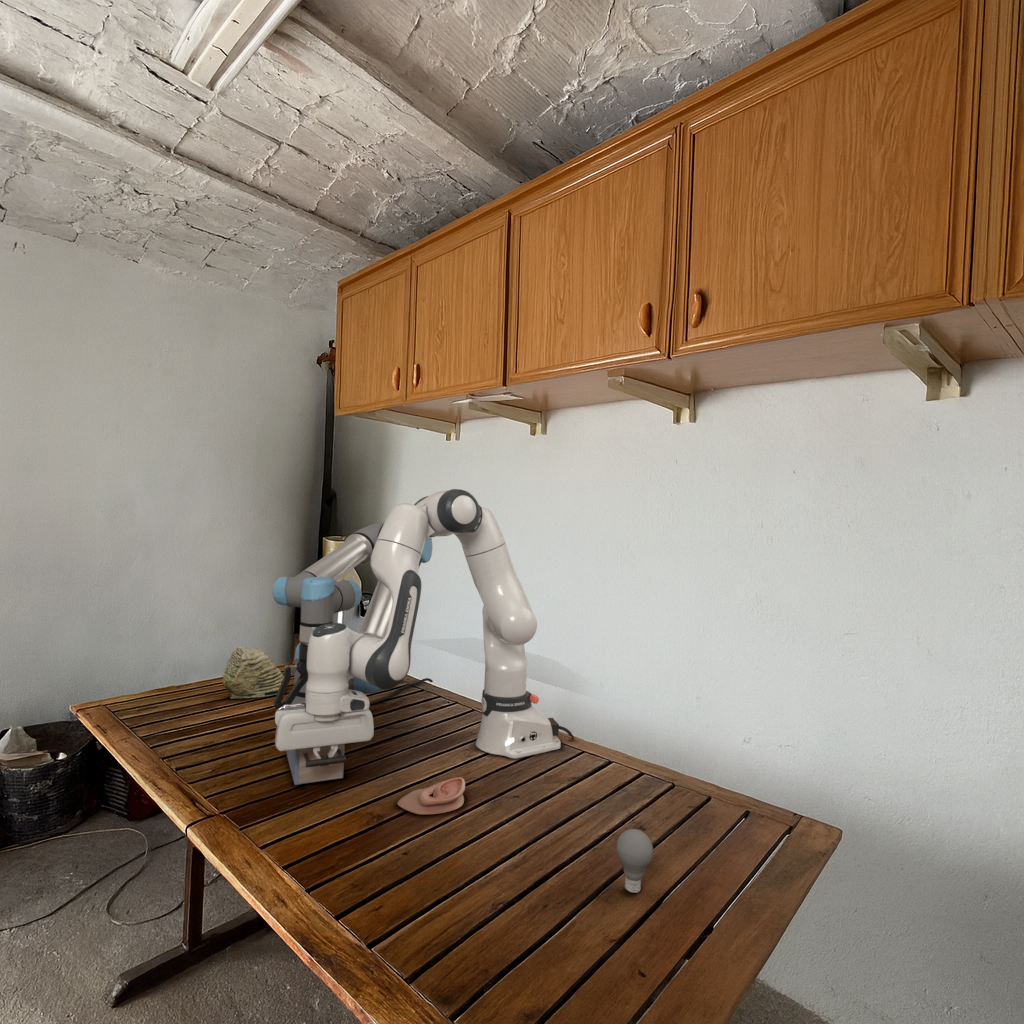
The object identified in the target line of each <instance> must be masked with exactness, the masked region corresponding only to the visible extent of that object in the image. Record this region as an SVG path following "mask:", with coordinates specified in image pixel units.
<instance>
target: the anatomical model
mask: <svg viewBox="0 0 1024 1024" xmlns="http://www.w3.org/2000/svg"><path fill="white" fill-rule="evenodd" d="M465 789H466V781H465V779H464V778H463V777H461V776H459V777H453V778H449V779H446V780H442V781H439V782H437V783H435V784H432V785H431V786H430V785H429V786H428V787H425V788H419V789H416V790H412V791H411V792H409V793H406V794H405V795H403V796H402V797H401V798H400V799H399V800H398V801H397V806H398V807H400V808H402V809H403V810H405V811H408V812H410V813H413V814H414V815H415V814H416V815H422V816H423V815H424V816H425V815H436V814H445V813H448V812H449V813H450V812H453V811H455V810H457V809H460V808H461V807H462V806H464V802H465V797H464V792H465Z"/></svg>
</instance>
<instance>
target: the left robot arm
mask: <svg viewBox="0 0 1024 1024" xmlns="http://www.w3.org/2000/svg"><path fill="white" fill-rule="evenodd" d="M384 523H385V521H384V522H377V523H373V524H370V525H367V526H365V527H362V528H359V529H358V530H356V531H354V532H353V533H351V534H350V535H348V536H347V537H346V538H345V540H344V542H343V543H342V544H341V545H339V546H338V547H336V548H335V549H334V550H332V551H330V552H329V553H328V554H326V555H325V556H323V557H322V558H320V559H319V560H317V561H316V562H314V563H312V564H311V565H310V566H309V567H307V568H305V569H304V570H302V571H301V572H299V573H298V574H297V575H295V576H289V575H288V576H281V577H279V578H277V579H276V580H275V582H274V584H273V586H272V598H273V601H274V602H275V603H276V604H277V605H280V606H285V607H289V608H291V607H292V608H300V622H299V623H300V624H299V643H298V644H297V645H296V647H295V652H294V653H295V654H294V659H293V660H294V665H290V664H285V665H284V667H283V668H284V674H283V676H284V677H283V679H282V682H281V685H280V687H279V690H278V693H277V694H276V695H275V698H274V701H273V706H274V708H275V709H276V710H277V709H279V708H280V707H283V705H286V704H289V705H291V704H297V703H305V693H306V684H307V681H308V672H307V651H308V644H309V640H310V636H311V634H312V632H313V630H314V629H316V628H317V627H319V626H321V625H324V624H331V623H334V614H337V613H341V612H344V611H349V610H351V609H353V608H356V607H357V606H358V605H359V604H360V602H361V601H362V598H363V597H362V595H363V594H362V589H361V587H360V585H359V584H358V583H357V582H356V581H354V580H351V579H347V580H346V579H343V580H339V579H341V578H342V577H344V576H345V575H346V574H347V573H349V572H350V571H352V570H353V569H354V568H355V567H356V566H358V565H359V564H365V563H368V562H369V561H371V556H372V552H373V549H374V546H375V544H376V541H377V538H378V536H379V533H380V531H381V529H382V527H383V525H384ZM432 555H433V537H429V538H428V539H427V541H426V543H425V544H424V548H423V551H422V554H421V558H420V561H419V567H418V571H419V570H420V567H421V564H426V563H427V564H428V562H430V560H431V558H432ZM392 603H393V600H392V595H391V592H390V591H389V589H388V588H387V587H386V586H385V585H384V584H382V583H381V582H380V581H379V580H377V583H376V586H375V589H374V591H373V594H372V596H371V599H370V602H369V604H368V606H367V609H366V613H365V614H364V617H363V619H362V621H361V624H360V627H359V629H358V632H357V633H361V634H364V635H368V636H372V637H375V638H379V639H383V638H384V637H385V635H386V632H387V627H388V622H389V618H390V613H391V608H392ZM291 676H293V686H292V688H291V689H290V691H289V692H288V694H287V696H286V697H285V694H286V691H287V689H288V687H289V684H290V680H291V678H292V677H291ZM424 682H429V683H433V682H434V680H432V678H429V677H425V678H422V679H420V680H417V681H414V682H411V683H408V684H406V685H403V686H401V687H399V688H396V690H394V691H392V692H390V693H388V694H386V695H385V696H383V697H381V698H378V699H375V700H372V701H369V702H370V706H371V705H375V704H378V703H380V702H383V701H385V700H387V699H389V698H391V697H393V696H394V695H396V694H397V693H399V692H400V691H403V690H405V689H407V688H410V687H413V686H416V685H419V684H422V683H424ZM348 684H349V687H348V689H351V690H355V691H360V692H363V693H364V694H369V695H370V694H371V695H372V694H377V693H379V692H380V691H382V689H380V688H378V687H376V686H374V685H372V684H370V683H368V682H365V681H362V680H359V679H356V678H351V679H349V681H348ZM284 697H285V699H284ZM281 710H283V709H281Z"/></svg>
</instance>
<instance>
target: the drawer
mask: <svg viewBox="0 0 1024 1024" xmlns="http://www.w3.org/2000/svg"><path fill="white" fill-rule="evenodd" d="M330 750H331V748H330V746H321V747H320V751H318V753H319V755H320V756H322V755H328V753H329V751H330ZM343 752H344V753H345V747H344V744H338V750H337V751H336V753H335V754H334V756H333V757H330V758H323V759H317V758H316V756H315V754H314V753H313V750H312V748H304V749H299V775H298V783H299V784H298V785H304V784H303V783H305V784H310V783H309V782H312V783H317V782H316V781H319V782H324V781H323V780H326V781H331V780H330V779H333V780H338V779H337V778H340V779H343V778H344V773H343V763H344V764H345V763H346V762H347V758H346V755H344V756H343ZM329 764H332V765H329ZM322 765H328V766H322ZM317 766H320V767H317ZM342 777H343V778H342Z"/></svg>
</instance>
